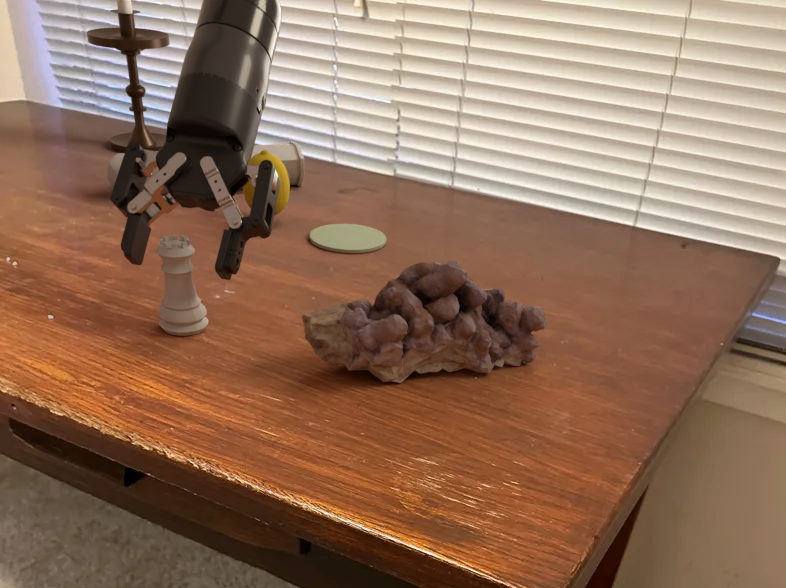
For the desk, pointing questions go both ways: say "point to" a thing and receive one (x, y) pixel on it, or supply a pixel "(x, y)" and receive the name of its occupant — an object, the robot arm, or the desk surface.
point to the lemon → (283, 175)
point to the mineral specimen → (426, 326)
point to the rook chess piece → (180, 289)
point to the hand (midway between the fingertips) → (176, 268)
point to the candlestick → (132, 71)
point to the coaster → (347, 238)
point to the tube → (285, 152)
